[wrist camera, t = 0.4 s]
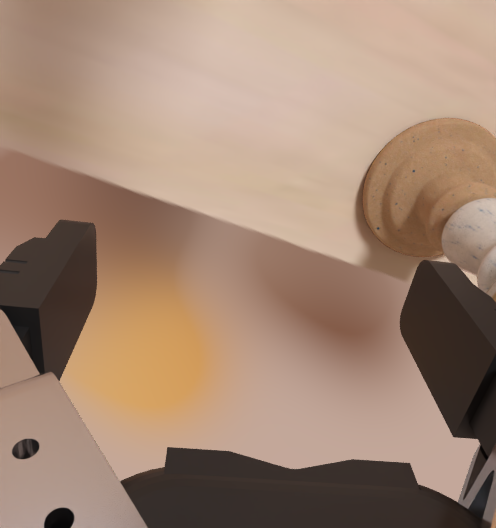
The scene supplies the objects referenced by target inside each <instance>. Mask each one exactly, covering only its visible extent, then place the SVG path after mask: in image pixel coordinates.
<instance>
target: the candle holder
mask: <svg viewBox="0 0 496 528" xmlns="http://www.w3.org/2000/svg"><path fill="white" fill-rule="evenodd" d="M363 209H364V215H365V217H366V220H367V223H368V225H369V227H370V229H371V230H372V232H373V233H374V235H375V236H376V237H377V238H378V239H379V240H380V241H381V242H382V243H383V244H385V245H386V246H387V247H389V248H391V249H393V250H394V251H396V252H399V253H402V254H405V255H410V256H416V257H429V256H437V255H441V254H445V256H446V258H447V259H448V260H449V261H450V262H451V263H454V264H456V265H457V266H458V267H459V268H460V269H461V270H463V271H465V272H468V273H471V274H473V275H475V276H477V283H478V287H479V289H481V290H482V291H484V292H485V293H486V294H488V295H489V296H491V297H492V298H493V300H494V301H495V302H496V138H495V137H494V136H493V135H492V134H491V133H490V132H489V131H487V130H486V129H484V128H483V127H481V126H480V125H477V124H475V123H473V122H470V121H466V120H462V119H456V118H442V119H434V120H430V121H426V122H422V123H419V124H417V125H415V126H413V127H410V128H408V129H407V130H405V131H403V132H402V133H400V134H399V135H397V136H396V137H395V138H394V139H392V140H391V141H390V142H389V143H388V144H387V145H386V146H385V147H384V148H383V149H382V150H381V151H380V153H379V154H378V156H377V157H376V158H375V160H374V161H373V163H372V165H371V167H370V169H369V171H368V174H367V177H366V180H365V183H364V189H363Z"/></svg>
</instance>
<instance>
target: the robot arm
mask: <svg viewBox="0 0 496 528" xmlns="http://www.w3.org/2000/svg"><path fill="white" fill-rule="evenodd" d="M96 287H97V259H96V229H95V225H94V224H93V223H88V222H78V221H69V220H59V221H58V223H57V224H56V225H55V227H54V228H53V229H52V230H51V232H50V233H49V235H48V236H47V237H46V238H32V239H31V240H29V241H27V242H25V243H23V244H21V245H19V246H17V247H16V248H15V249H14V250H13V251H12V252H11V254H10V255H9V256H8V257H7V259H6V261H5V262H3V263H2V264H1V265H0V528H496V302H495V301H494V300H493V298H492V297H491V296H489V295H488V294H486V293H485V292H484V291H482V290H481V289H479V288H478V287H476V286H475V285H473V284H472V282H471V281H470V280H469V279H468V278H467V276H466V275H465V274H464V273H463V272H462V270H461V269H460V268H459V267H458V266H457V265H456V264H454V263H448V262H438V261H429V260H424V261H422V262H421V263H420V264H419V266H418V267H417V270H416V273H415V275H414V278H413V281H412V284H411V286H410V289H409V292H408V295H407V297H406V300H405V303H404V306H403V309H402V312H401V316H400V330H401V334H402V336H403V338H404V340H405V342H406V344H407V346H408V348H409V350H410V352H411V354H412V356H413V358H414V360H415V362H416V364H417V366H418V368H419V370H420V372H421V374H422V376H423V378H424V380H425V382H426V384H427V386H428V388H429V389H430V392H431V394H432V396H433V397H434V400H435V401H436V404H437V405H438V408H439V409H440V411H441V413H442V415H443V417H444V419H445V421H446V423H447V425H448V427H449V429H450V431H451V433H452V435H453V437H458V438H472V439H478V440H479V442H480V445H479V447H478V449H477V450H476V452H475V454H474V456H473V459H472V462H471V465H470V468H469V471H468V474H467V476H466V479H465V483H464V485H463V488H462V491H461V494H460V497H459V500H458V502H456V501H454V500H453V499H451V498H449V497H447V496H445V495H443V494H441V493H439V492H437V491H434V490H432V489H429V488H427V487H425V486H421V485H418V483H417V481H416V478H415V475H414V473H413V470H412V468H411V465H410V463H399V462H383V461H369V460H354V459H353V460H347V461H341V462H336V463H330V464H325V465H319V466H313V467H308V468H302V469H289V468H285V467H281V466H278V465H274V464H271V463H268V462H264V461H261V460H257V459H254V458H251V457H247V456H243V455H240V454H237V453H233V452H229V451H217V450H202V449H187V448H170V447H168V448H167V455H166V462H165V467H163V468H158V469H152V470H149V471H146V472H142V473H139V474H136V475H134V476H131V477H129V478H126V479H124V480H122V481H119V480H118V478H117V476H116V475H115V473H114V471H113V470H112V468H111V466H110V465H109V463H108V461H107V460H106V458H105V456H104V455H103V453H102V452H101V450H100V448H99V446H98V445H97V443H96V441H95V440H94V438H93V437H92V435H91V433H90V432H89V430H88V428H87V427H86V425H85V424H84V422H83V420H82V418H81V417H80V415H79V413H78V412H77V410H76V408H75V407H74V405H73V404H72V402H71V400H70V399H69V397H68V395H67V394H66V392H65V390H64V389H63V387H62V386H61V384H60V382H59V381H60V378H61V376H62V374H63V371H64V369H65V367H66V364H67V363H68V360H69V358H70V356H71V354H72V351H73V349H74V347H75V344H76V342H77V340H78V338H79V336H80V333H81V331H82V329H83V326H84V324H85V322H86V320H87V318H88V315H89V313H90V311H91V309H92V306H93V303H94V300H95V295H96Z"/></svg>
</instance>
